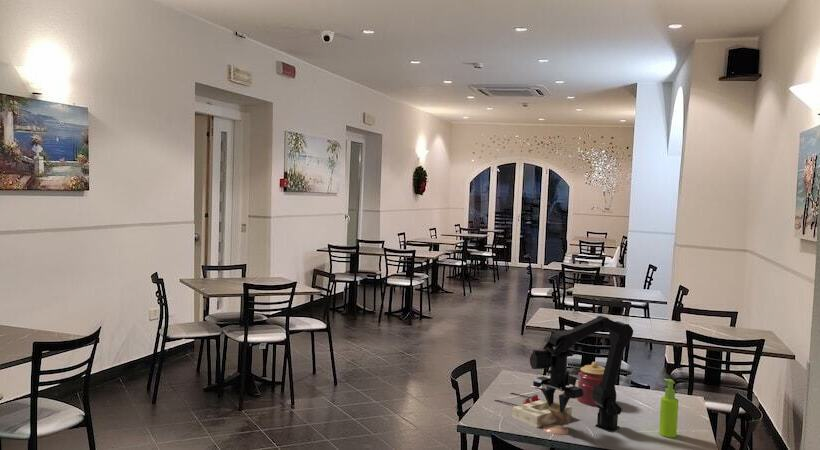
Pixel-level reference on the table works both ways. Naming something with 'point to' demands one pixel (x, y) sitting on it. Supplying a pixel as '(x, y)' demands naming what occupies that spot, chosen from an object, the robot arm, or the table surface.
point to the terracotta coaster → (555, 429)
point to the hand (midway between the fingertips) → (556, 410)
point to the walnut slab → (559, 414)
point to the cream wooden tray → (537, 413)
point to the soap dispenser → (669, 412)
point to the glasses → (534, 398)
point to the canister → (589, 382)
